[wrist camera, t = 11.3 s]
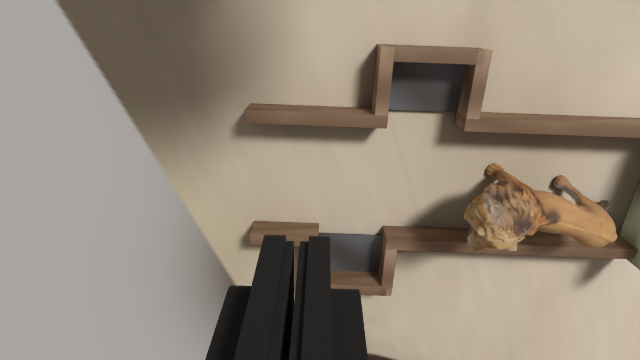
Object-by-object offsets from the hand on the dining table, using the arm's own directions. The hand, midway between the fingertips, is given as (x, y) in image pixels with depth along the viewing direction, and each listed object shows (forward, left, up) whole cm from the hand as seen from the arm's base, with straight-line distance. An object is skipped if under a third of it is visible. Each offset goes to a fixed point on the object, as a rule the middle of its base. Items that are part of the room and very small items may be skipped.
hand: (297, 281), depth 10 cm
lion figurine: (+8, +18, -24) cm, 31 cm away
